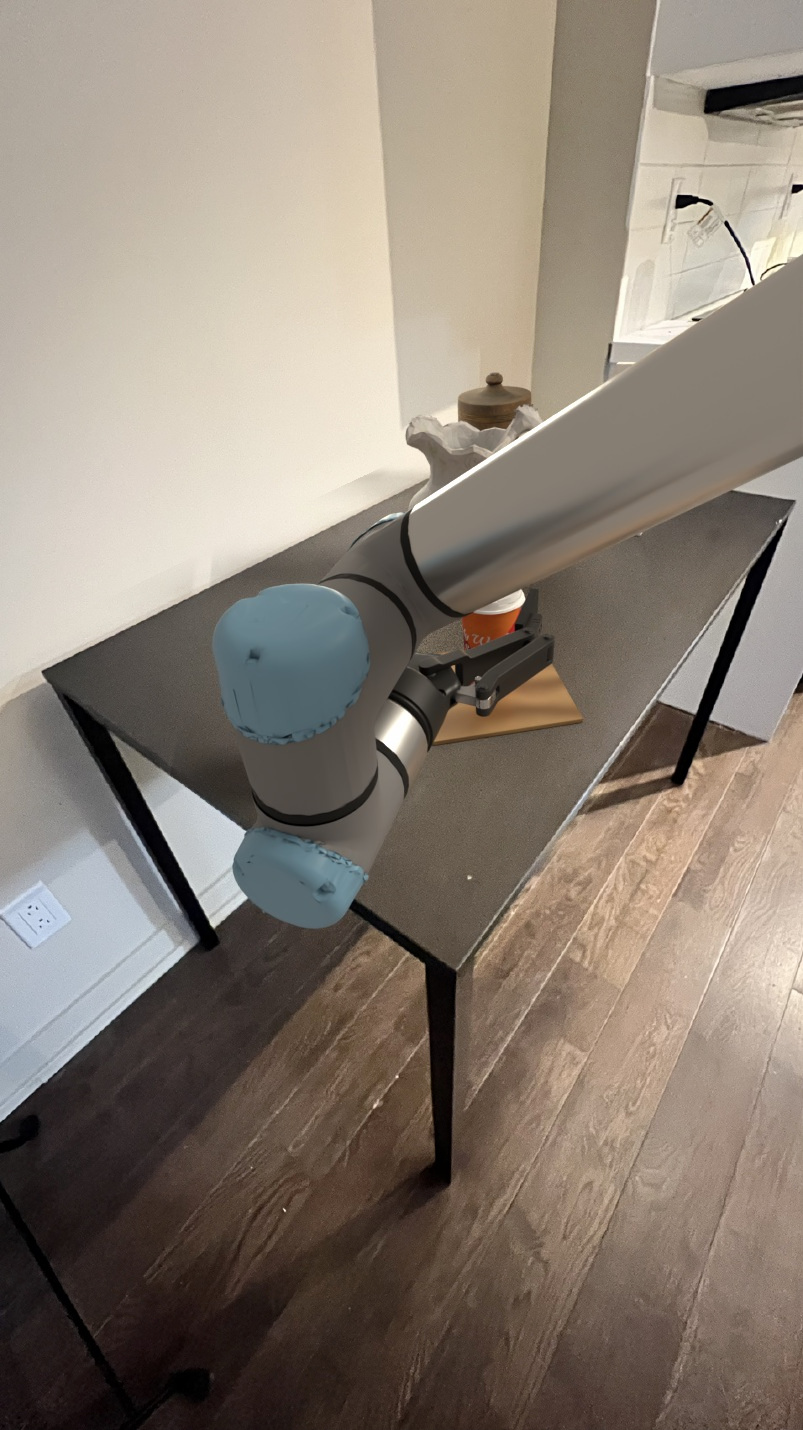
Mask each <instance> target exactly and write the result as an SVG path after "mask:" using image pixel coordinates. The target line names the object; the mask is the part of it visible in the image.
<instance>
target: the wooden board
mask: <svg viewBox="0 0 803 1430" xmlns="http://www.w3.org/2000/svg"><path fill="white" fill-rule="evenodd" d="M460 649H461V650H462V651H465V650H464V648H460ZM451 651H452V650H449V651H442V652H436V654H441V655H443V654H446V653H448V652H451ZM451 667H452V669H453V671H454V672H455V665H454V666H451ZM583 722H584V718H583V716H582V714H581V712H580V710H579V709H578V706H577V705H576V704H575V702H574V700H573V699H572V697H571V695H570V693H569V691H568V690H567V688H566V686H565V684H564V682H563V681H562V679H561V678H560V675H559V673H558V672H557V670H556V668H555V666H554V665H553V663H552V664H551V665H549V666H548V667H546V668H545V669H544V670H542V671H541V672H539V673H538V674H536V675H535V676H534V677H532V678H531V679H529V680H528V681H527V682H525V683H524V684H522V685H521V686H519V687H518V688H517V689H515V690H514V691H512V692H511V693H510V694H508V695H507V696H505V697H504V698H502V699H501V700H500V701H498V703H497V704H496V706H495V708H494V709H493V711H492V712H491V714H490V715H489V716H486V717H481V716H478V715H477V714H476V707H475V706H471V705H467V704H463V703H458V704H457V705H455V706H454V707H452V708H451V709H450V710H449V711H448V712H447V715H446V717H445V720H444V722H443V724H442V726H441V728H440V730H439V732H438V734H437V736H436V738H435V740H434V742H433V744H432V746H439V745H445V744H451V743H452V744H453V743H458V742H464V741H465V742H466V741H472V740H478V739H484V738H490V737H496V736H504V735H511V734H516V733H522V732H529V731H535V730H536V731H537V730H541V729H543V730H544V729H549V728H555V727H560V726H568V725H573V724H581V723H583Z"/></svg>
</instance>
